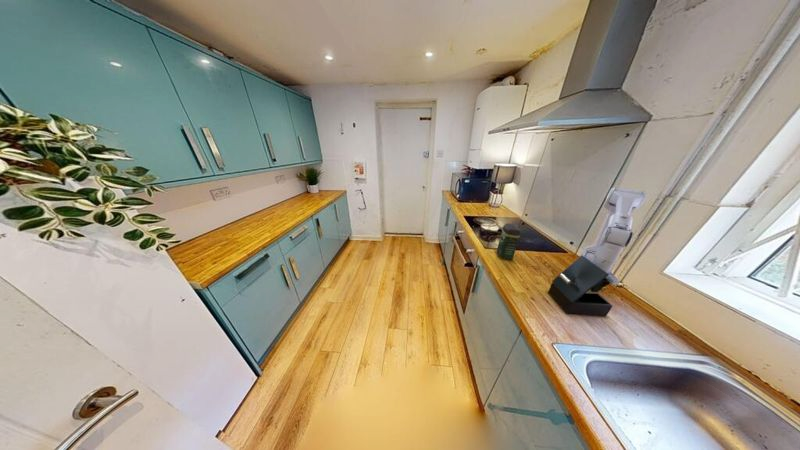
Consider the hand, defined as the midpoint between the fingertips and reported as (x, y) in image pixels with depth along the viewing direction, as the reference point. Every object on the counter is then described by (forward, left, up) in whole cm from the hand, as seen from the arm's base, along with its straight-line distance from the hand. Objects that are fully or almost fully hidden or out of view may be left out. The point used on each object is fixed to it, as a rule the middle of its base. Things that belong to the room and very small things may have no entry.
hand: (588, 286), depth 78 cm
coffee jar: (+18, -32, -8) cm, 38 cm away
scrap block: (0, 0, -1) cm, 1 cm away
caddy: (+4, +2, -7) cm, 9 cm away
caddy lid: (+8, +2, +5) cm, 9 cm away
